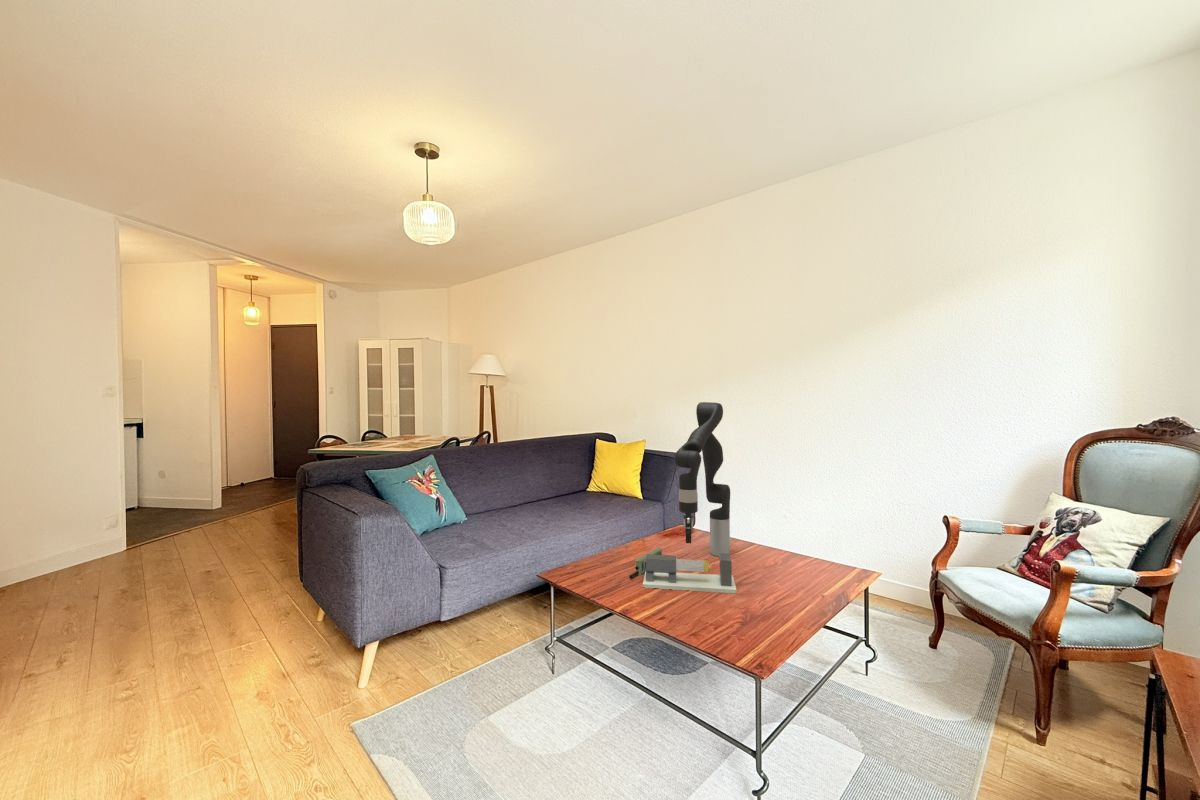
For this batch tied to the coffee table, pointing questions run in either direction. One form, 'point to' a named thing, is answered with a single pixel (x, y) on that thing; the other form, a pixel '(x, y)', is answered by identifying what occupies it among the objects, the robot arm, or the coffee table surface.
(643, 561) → the handheld radio
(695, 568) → the silver metal bar
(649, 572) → the sleeve
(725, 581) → the socket
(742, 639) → the coffee table surface
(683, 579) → the base board
